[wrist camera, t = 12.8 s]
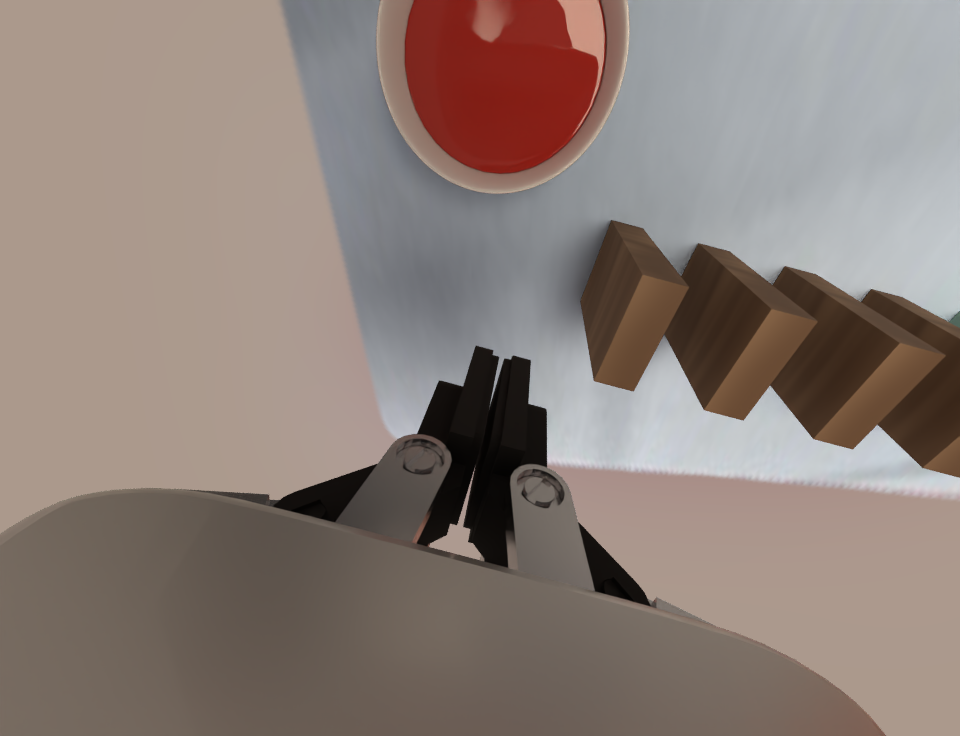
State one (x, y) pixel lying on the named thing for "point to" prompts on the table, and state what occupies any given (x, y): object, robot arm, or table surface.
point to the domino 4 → (926, 389)
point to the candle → (501, 83)
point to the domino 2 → (733, 331)
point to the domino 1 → (628, 305)
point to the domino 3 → (846, 362)
